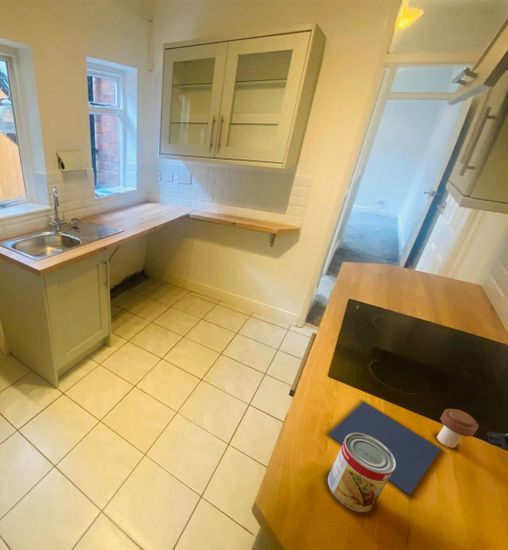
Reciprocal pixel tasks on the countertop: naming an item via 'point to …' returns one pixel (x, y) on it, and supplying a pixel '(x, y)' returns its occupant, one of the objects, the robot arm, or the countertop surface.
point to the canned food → (360, 471)
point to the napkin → (391, 444)
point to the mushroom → (456, 427)
